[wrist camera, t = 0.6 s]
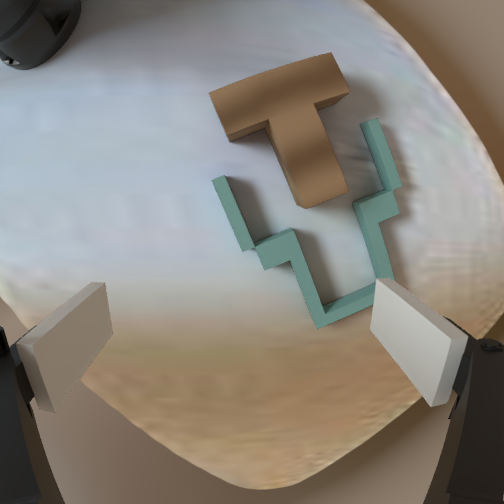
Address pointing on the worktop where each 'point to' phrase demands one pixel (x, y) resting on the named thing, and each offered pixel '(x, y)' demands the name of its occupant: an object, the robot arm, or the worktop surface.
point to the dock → (288, 247)
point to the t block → (290, 122)
